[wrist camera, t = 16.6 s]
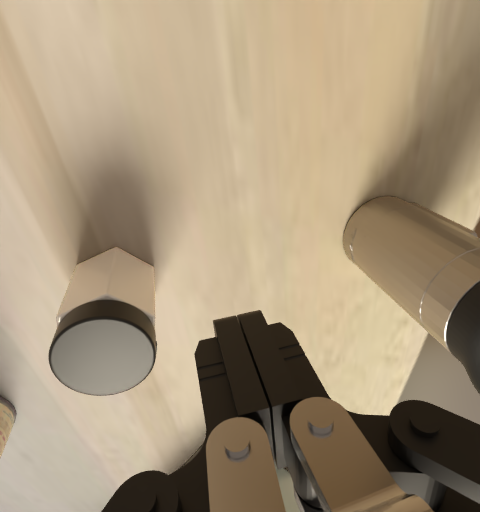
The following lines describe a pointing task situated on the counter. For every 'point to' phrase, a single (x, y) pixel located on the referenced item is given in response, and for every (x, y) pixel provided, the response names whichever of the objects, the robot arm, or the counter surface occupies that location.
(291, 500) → the side door
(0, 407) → the aerosol can
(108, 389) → the jar
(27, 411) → the counter surface
